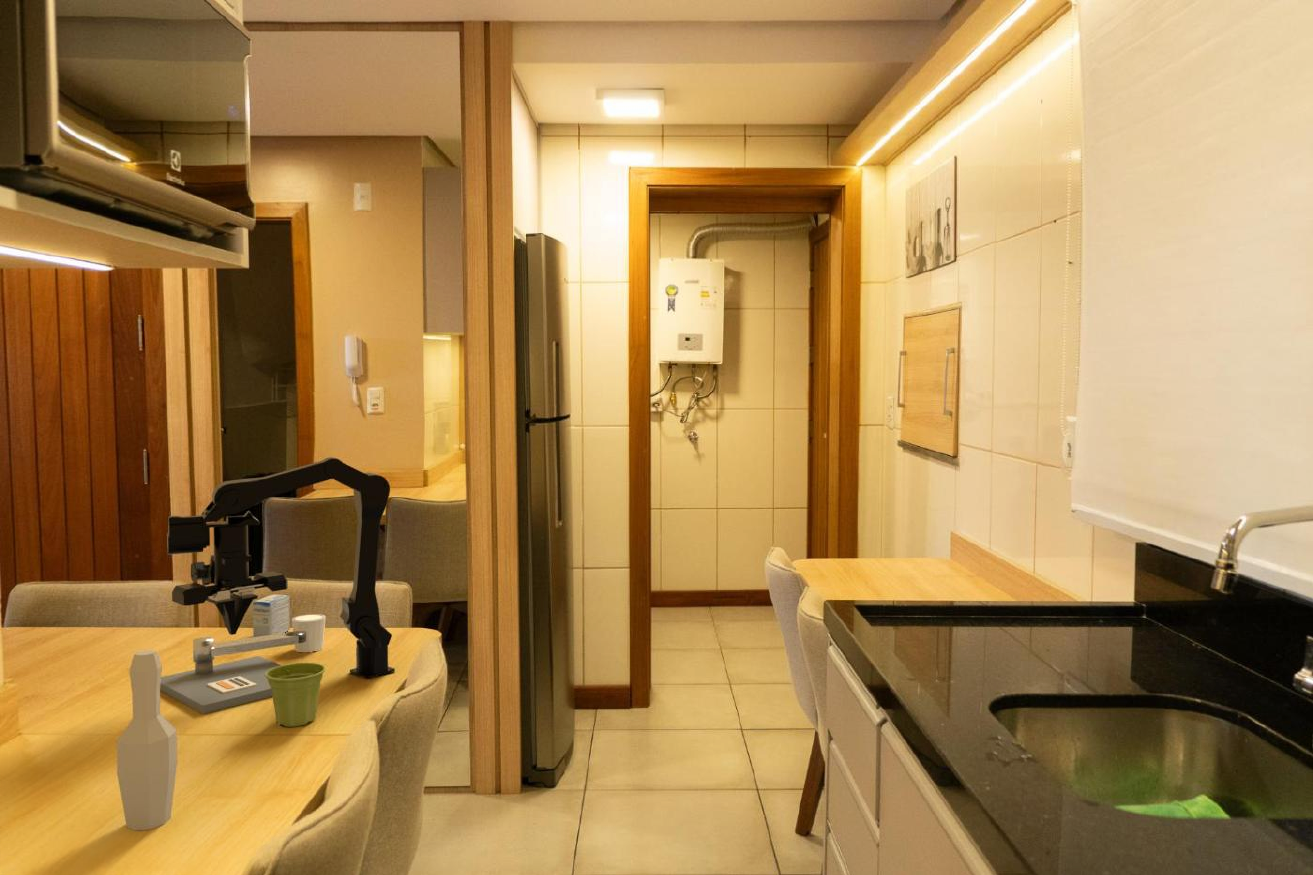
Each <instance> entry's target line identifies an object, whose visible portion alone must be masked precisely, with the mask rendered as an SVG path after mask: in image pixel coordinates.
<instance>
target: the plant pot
mask: <svg viewBox="0 0 1313 875" xmlns="http://www.w3.org/2000/svg"><path fill="white" fill-rule="evenodd" d="M325 672H326V666H325V665H323V664H321V663H316V662H297V663H296V662H295V663H288V664H283V665H282V666H278V667H275V668H272V669H270V670H268V671H267V672H266V673H265V676H266V678H268V682H269V685H270V686H271V691H272V703H273V709H274V714H275V719H276V721H275V722H276V724H277V725H278V726H281V725H283V726H284V727H287V728H292V727H302V726H304V725H306V724H308V723H309V722H314V721H315V720H316V717H317V712H318V711H317V709H318V700H319V694H320V686H321V681H322V679H323V675H324V673H325Z"/></svg>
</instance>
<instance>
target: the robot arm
mask: <svg viewBox="0 0 1313 875" xmlns="http://www.w3.org/2000/svg"><path fill="white" fill-rule="evenodd" d="M329 480H334V481H336V482H338V483H340V484H342V485H344V486H346V487H348V488H350V489H352V490H353V499H354V505H355V510H356V514H357V530H356V544H355V557H354V568H353V569H354V570H353V571H354V572H353V582H352V583H353V584H352V590H351V593H350V594H349V597H344V596H343V597H341V605H342V608H341V609H342V610H341V613H340V615H339V617H340V618H341V620H342V621H343V625H344V627H345V628H346V629H347V630H348V631H349V632H350V634H352V635H353V636H354V638H356V639H357V640H356V647H355V650H356V651H355V653H356V654H355V658H356V659H355V660H356V667H355V668H352V669H349V673H350V674H353V675H356V676H358V677H361V678H364V679H370V678H371V679H372V678H374V677H375V678H376V677H378V676H382V675H386V674H389V673H394V672H395V670H396V668H394V667H392V666H389V645H390V643H391V640H392V637H393V634H392V633H391V632H390V631H389V630H387V628H386V627H384V625H382V624H381V619H380V616H381V615H380V610H379V609H380V608H379V603H378V598H377V594H376V582H377V571H378V556H379V544H380V543H379V542H380V531H381V530H380V529H381V520H382V517H383V516H384V513H385V511H386V508H387V505H388V501H389V498H390V493H391V485H390V482H389V481H388V480H387V478H385V477H384V476H383V475H379V474H376V473H373V472H362V471H360V470H359V469H356V468H354V467H352V466H351V465H348V464H346V463H344V462H343V461H342V460H341V459H339V458H336V457H332V456H330V457H326V458H324V459H323V460H320V461H316V462H312V463H310V464H306V465H305V464H304V465H301V466H298V467H294V468H291V469H287V470H285V471H281V472H277V473H273V474H270V475H266V476H263V477H255V478H254V477H253V478H241V479H234V480H232V479H231V480H225V481H223V482H219V484H216V486H215V487H214V489H213V491H212V495H211V498H212V499H211V501H210V503H209V504H208V505H207V506H206V508H204V509H203V511H202V512H201V514H200V515H184V516H181V515H169V516H168V519H167V520H168V525H167V526H168V528H167V530H168V532H166V534H167V535H166V538H167V540H166V541H167V542H166V543H167V544H166V545H167V547H166V548H167V555H182V554H196V553H197V554H198V553H204V549H207V547H210V545H211V529H210V528H212V530H213V554H212V555H210V560H209V561H210V562H209V564H205V561H197V562H192V563H190V578H191V579H190V580H192V582H193V583H186V584H179V585H175V586H174V588H173V590H172V592H171V599H172V600H171V601H172V602H174V603H176V604H179V605H182V606H185V607H186V606H187V607H188V606H189V607H190V606H193V605H200V604H204V603H206V602H208V603H211V604H214V605H215V606H216V608H217V610H218V612H219V613H220V616H221V617H222V620H223V622H224V624H225V627H226V629H227V632H228V634H229V635H231V636H232V635H233V636H234V635H236V634H237V633H238V630H239V628H240V625H241V623H242V622H243V618H244V617H245V614H246V613H247V611H248V609H249V608H250V606H251V604H252V603H253V602H254V600H257V599H258V597H259V596H258V595H257V594H255V590H257V589H263V588H264V589H265V588H268V590H269V591H271V592H272V593H273V592H279V591H285V590H288V578H287V576H286V575H285V574H284V573H283V574H282V573H279V572H276V571H268V572H261V573H260V572H259V573H255V575H254V576H253V578H252V577H251V576H250V575H249V574H250V573H249V571H250V570H249V562H252V559H253V558H252V555H250V554H249V526H257V525H260V523H261V522H260V521H259V519H257V518H256V517H255V516H254V515H253V514H252V512H251V511H250V510H249V509H251V508H253V507H255V506H257V505H259V504H260V503H262V502H264V501H265V500H268V499H269V498H271V497H276V496H279V495H282V494H286V493H289V492H292V491H295V490H298V489H302V488H306V487H309V486H312V485H316V484H319V483H322V482H325V481H326V482H327V481H329ZM246 510H248V511H246ZM245 511H246V513H245V514H243V515H238V514H240V513H242V512H245ZM228 515H229V516H228ZM235 515H236V516H235ZM225 517H226V520H224V521H220V520H222V519H224V518H225ZM196 581H201V584H200V583H198V582H196ZM210 584H211V585H210Z"/></svg>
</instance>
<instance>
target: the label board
mask: <svg viewBox="0 0 1313 875" xmlns="http://www.w3.org/2000/svg"><path fill="white" fill-rule="evenodd" d="M194 664H195V665H194V669H192V670H187V671H182V672H178V673H173V674H169V675H164V676H161V684H160V692H162V693H164V694H166V695H168V696H170V697H171V698H173V699H175V700H177V701H179V702H180V703H182V704H184V705H186V706H188V707H189V708H191V709H193V710H195V711H197V712H198V713H201V714H202V715H205V714H209V713H213V712H216V711H221V710H225V709H229V708H233V707H236V706H240V705H241V706H242V705H244V704H248V703H251V702H256V701H260V700H262V699H263V700H264V699H268V698H271V697H272V691H271V686H270V685H269V682H268V678H266V676H265V673H266V672H267V671H268V670H270V669H272V668H275V667H278V666H282V665H281V664H279V663H277V662H274V661H271V660H270V659H268V658H265V657H263V656H260V655H257V656H252V657H247V658H241V659H239V660H234V661H233V660H232V661H229V662H224V663H220V664H215V665H214V660H212V661H209V662H204V663H196V662H194ZM272 698H273V697H272Z"/></svg>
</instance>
